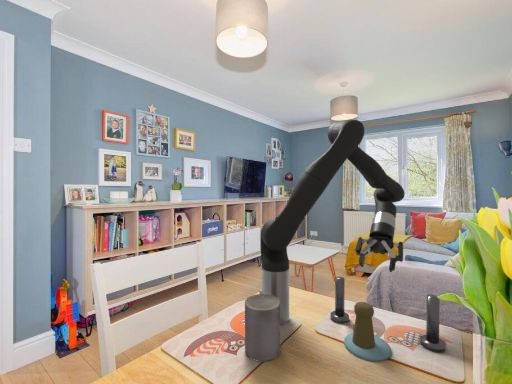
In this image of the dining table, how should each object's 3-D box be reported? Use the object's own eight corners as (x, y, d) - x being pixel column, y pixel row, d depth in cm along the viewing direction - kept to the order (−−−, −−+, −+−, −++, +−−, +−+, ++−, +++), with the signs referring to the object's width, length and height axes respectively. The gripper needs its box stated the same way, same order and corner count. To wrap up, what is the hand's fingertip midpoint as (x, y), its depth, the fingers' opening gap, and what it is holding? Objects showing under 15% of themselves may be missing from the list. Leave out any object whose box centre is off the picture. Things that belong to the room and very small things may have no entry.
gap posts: (327, 320, 88) (328, 278, 87) (333, 313, 93) (333, 273, 92) (445, 355, 69) (446, 303, 69) (445, 344, 74) (446, 295, 74)
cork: (378, 350, 70) (378, 309, 70) (354, 347, 71) (354, 307, 71) (372, 337, 76) (372, 300, 76) (350, 335, 77) (350, 298, 77)
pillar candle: (254, 336, 78) (254, 287, 78) (285, 345, 74) (285, 292, 73) (238, 356, 69) (237, 300, 69) (272, 367, 65) (271, 307, 65)
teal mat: (338, 350, 72) (338, 347, 72) (350, 330, 81) (350, 328, 81) (387, 367, 65) (387, 364, 65) (394, 343, 75) (394, 340, 75)
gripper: (359, 219, 94) (350, 258, 85) (405, 222, 86) (400, 266, 77) (363, 232, 99) (354, 270, 90) (406, 236, 91) (402, 278, 81)
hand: (375, 268), depth 83 cm, fingers open, 8 cm apart
